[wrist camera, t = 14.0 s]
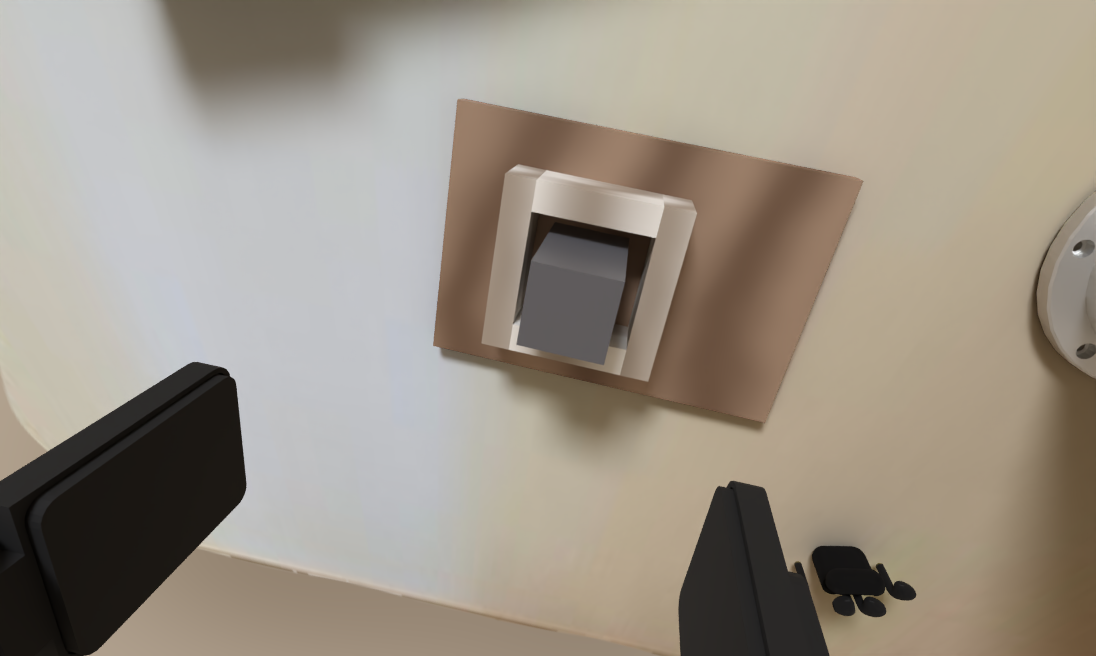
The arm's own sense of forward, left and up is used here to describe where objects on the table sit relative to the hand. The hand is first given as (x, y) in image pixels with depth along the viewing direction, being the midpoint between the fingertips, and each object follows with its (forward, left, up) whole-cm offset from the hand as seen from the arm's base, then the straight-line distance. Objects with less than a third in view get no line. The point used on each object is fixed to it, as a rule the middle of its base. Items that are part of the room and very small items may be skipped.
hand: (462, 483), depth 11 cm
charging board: (-3, +2, -22) cm, 22 cm away
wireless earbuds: (-20, +17, -22) cm, 35 cm away
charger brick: (-1, +2, -21) cm, 21 cm away
